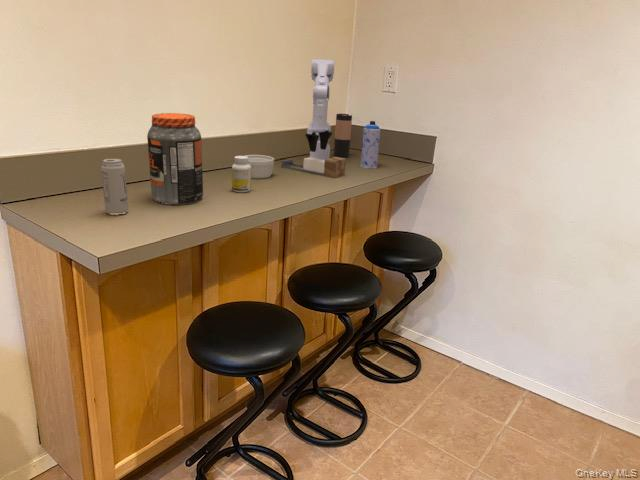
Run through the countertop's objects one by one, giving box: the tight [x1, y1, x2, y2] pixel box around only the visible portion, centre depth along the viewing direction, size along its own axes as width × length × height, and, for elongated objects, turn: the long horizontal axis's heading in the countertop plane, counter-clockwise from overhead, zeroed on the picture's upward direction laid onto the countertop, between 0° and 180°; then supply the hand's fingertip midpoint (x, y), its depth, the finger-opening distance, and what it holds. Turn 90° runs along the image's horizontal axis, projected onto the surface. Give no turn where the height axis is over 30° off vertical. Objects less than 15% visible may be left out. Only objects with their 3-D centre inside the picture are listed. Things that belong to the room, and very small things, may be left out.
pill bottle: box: [231, 155, 252, 193], centre depth 165 cm, size 6×6×12 cm
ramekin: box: [245, 154, 275, 180], centre depth 188 cm, size 13×13×7 cm
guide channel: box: [280, 158, 325, 177], centre depth 203 cm, size 8×22×2 cm, turn 57°
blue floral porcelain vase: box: [359, 120, 381, 170], centre depth 214 cm, size 8×8×20 cm
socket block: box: [323, 156, 347, 179], centre depth 195 cm, size 8×5×7 cm, turn 147°
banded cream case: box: [302, 156, 325, 173], centre depth 199 cm, size 5×14×5 cm, turn 57°
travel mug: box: [333, 113, 353, 159], centre depth 233 cm, size 8×8×20 cm
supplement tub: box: [146, 112, 204, 205], centre depth 149 cm, size 16×16×26 cm
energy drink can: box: [100, 158, 129, 213], centre depth 134 cm, size 6×6×15 cm
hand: (318, 150), depth 198 cm, fingers open, 7 cm apart
